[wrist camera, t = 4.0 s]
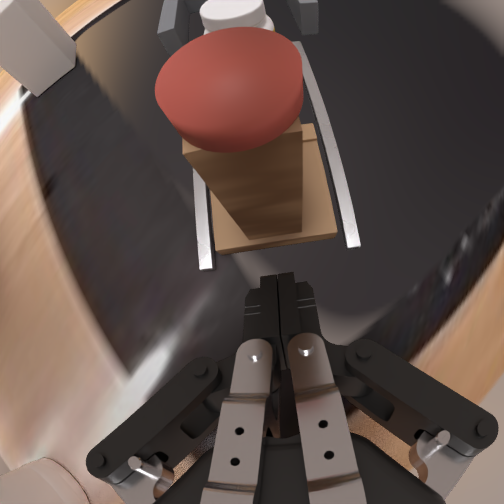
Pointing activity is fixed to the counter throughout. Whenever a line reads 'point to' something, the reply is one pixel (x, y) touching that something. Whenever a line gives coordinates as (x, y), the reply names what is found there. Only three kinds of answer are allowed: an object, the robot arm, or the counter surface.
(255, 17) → the supplement bottle
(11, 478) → the bottle
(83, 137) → the counter surface
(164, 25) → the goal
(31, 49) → the milk carton
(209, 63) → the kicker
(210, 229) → the track
